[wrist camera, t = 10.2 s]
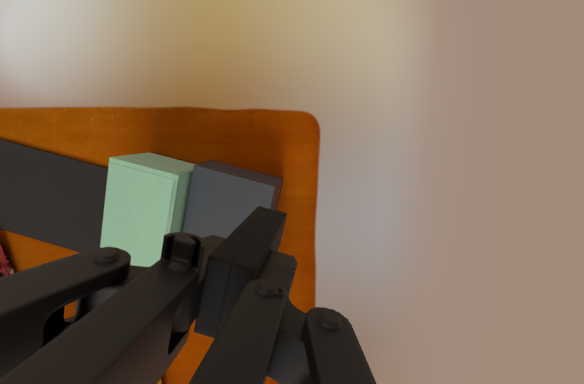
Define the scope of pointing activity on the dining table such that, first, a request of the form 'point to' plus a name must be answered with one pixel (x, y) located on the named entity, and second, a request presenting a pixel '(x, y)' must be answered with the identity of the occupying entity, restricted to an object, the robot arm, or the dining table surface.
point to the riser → (226, 197)
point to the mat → (51, 197)
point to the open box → (144, 204)
